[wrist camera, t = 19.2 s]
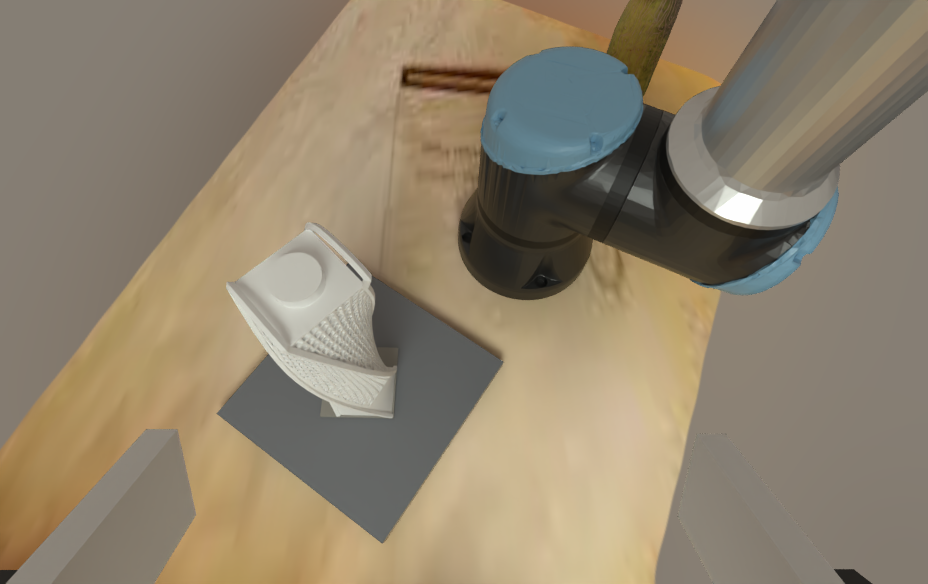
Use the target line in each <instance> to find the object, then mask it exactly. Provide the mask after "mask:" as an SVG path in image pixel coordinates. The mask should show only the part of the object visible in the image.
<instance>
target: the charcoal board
mask: <svg viewBox="0 0 928 584" xmlns="http://www.w3.org/2000/svg"><path fill="white" fill-rule="evenodd" d="M346 266H347V267H348V268H349V269H350V270H351V271H352V272H353V273H354V274H355V275H356V276H357V277H358V278H359V279H360V280H361V281H363V279H362V277H361V276H360V275H359V274H358V273H357V272H356V270H355V269H354V268H353V267H352V266H351V265H350V264H349V263H348V264H347V265H346ZM370 285H371V286H372V288H373V290H374V293H375V307H374V311H373V315H372V329H373V336H374V341H375V345H376V347H388V348H398V362H397V377H396V392H395V407H394V418H338V417H320V413H321V405H322V399H321V398H319V397H317V396H316V395H314V394H312V393H311V392H309V391H307V390H306V389H304V388H303V387H302V386H300V385H299V384H297V383H296V382H295V381H294V380H293V379H292V378H290V377H289V376H288V375H287V374H286V373H285V372H284V371H283V370H282V369H281V368H280V367H279V366H278V365H277V363H276V362H275V361H274V360H273V358H272V357H271V356H270V355H269V354H268V355H267V357H266V358H265V359H264V360H263V361H262V362H261V363H260V365H259V366H258V367H257V368H256V369H255V370H254V371H253V373H252V374H251V375H250V376H249V377H248V378H247V379H246V381H245V382H244V383H243V384H242V385H241V386H240V387H239V389H238V390H237V391H236V392H235V393H234V394H233V396H232V397H231V398H230V399H229V400H228V401H227V402H226V404H225V405H224V406H223V407H222V408H221V409H220V410H219V412H218V413H217V414H218V415H219V416H220V417H222V418H223V419H224V420H226V421H227V422H228V423H229V424H231V425H232V426H233V427H234V428H236V429H237V430H238V431H240V432H241V433H242V434H243V435H245V436H246V437H247V438H248V439H250V440H251V441H252V442H254V443H255V444H256V445H257V446H259V447H260V448H261V449H262V450H264V451H265V452H266V453H268V454H269V455H270V456H271V457H273V458H274V459H275V460H276V461H278V462H279V463H280V464H282V465H283V466H284V467H285V468H287V469H288V470H289V471H290V472H292V473H293V474H294V475H296V476H297V477H298V478H299V479H301V480H302V481H303V482H304V483H306V484H307V485H308V486H310V487H311V488H312V489H313V490H315V491H316V492H317V493H318V494H320V495H321V496H322V497H324V498H325V499H326V500H327V501H329V502H330V503H331V504H332V505H334V506H335V507H336V508H338V509H339V510H340V511H341V512H343V513H344V514H345V515H346V516H348V517H349V518H350V519H352V520H353V521H354V522H355V523H357V524H358V525H359V526H361V527H362V528H363V529H364V530H366V531H367V532H368V533H369V534H371V535H372V536H373V537H375V538H376V539H377V540H378V541H380V542H381V543H384V542H385V541H386V539H387V538H388V536H389V535H390V533H391V532H392V530H393V529H394V527H395V526H396V524H397V523H398V521H399V520H400V518H401V517H402V515H403V514H404V512H405V511H406V509H407V508H408V506H409V505H410V503H411V502H412V500H413V499H414V497H415V496H416V494H417V493H418V491H419V490H420V488H421V487H422V485H423V484H424V482H425V481H426V479H427V478H428V476H429V475H430V473H431V472H432V470H433V469H434V467H435V466H436V464H437V463H438V461H439V460H440V458H441V457H442V455H443V454H444V452H445V451H446V449H447V448H448V446H449V445H450V443H451V442H452V440H453V439H454V437H455V436H456V434H457V433H458V431H459V430H460V428H461V427H462V425H463V424H464V422H465V421H466V419H467V418H468V416H469V415H470V413H471V412H472V410H473V409H474V407H475V406H476V404H477V403H478V401H479V400H480V398H481V397H482V395H483V394H484V392H485V391H486V389H487V388H488V386H489V385H490V383H491V382H492V380H493V379H494V377H495V376H496V374H497V373H498V371H499V370H500V368H501V367H502V365H503V361H501V360H500V359H498V358H497V357H495V356H494V355H492V354H491V353H489V352H488V351H486V350H485V349H483V348H482V347H480V346H478V345H477V344H475V343H474V342H472V341H471V340H469V339H468V338H466V337H465V336H463V335H462V334H460V333H459V332H457V331H456V330H454V329H453V328H451V327H449V326H448V325H446V324H445V323H443V322H442V321H440V320H439V319H437V318H436V317H434V316H433V315H431V314H430V313H428V312H427V311H425V310H424V309H422V308H420V307H419V306H417V305H416V304H414V303H413V302H411V301H410V300H408V299H407V298H405V297H404V296H402V295H401V294H399V293H398V292H396V291H394V290H393V289H391V288H390V287H388V286H387V285H385V284H384V283H382V282H381V281H379V280H378V279H376V278H375V277H373V276H372V278H371V283H370Z"/></svg>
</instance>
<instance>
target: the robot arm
mask: <svg viewBox="0 0 928 584" xmlns="http://www.w3.org/2000/svg"><path fill="white" fill-rule="evenodd" d="M627 72H628V67H627V66H626V65H625V64H624V63H622V62H621V61H620V60H618V59H616V58H614V57H612V56H610V55H608V54H606V53H604V52H600V51H597V50H594V49H589V48H583V47H556V48H550V49H546V50H542V51H541V52H540V53H539V54H534V55H529V56H526V57H524V58H522V59H520V60H519V61H517V62H516V63H514V64H513V65H511V66H510V67H509V68H508V69H507V70H506V71H505V72H504V73H503V74H502V75H501V76H500V77H499V78H498V80H497V81H496V83H495V85H494V86H493V88H492V90H491V92H490V95H489V99H488V103H487V109H486V115H485V117H484V119H483V122H482V128H481V155H480V167H479V180H478V188H477V189H476V191H475V192H474V193H473V195H472V196H471V198H470V199H469V200H468V202H467V203H466V205H465V207H464V209H463V211H462V214H461V217H460V222H459V232H458V244H459V250H460V254H461V257H462V260H463V262H464V264H465V266H466V267H467V269H468V270H469V272H470V273H471V274H472V276H473V277H474V278H475V279H476V280H477V281H478V282H480V283H481V284H482V285H483V286H485V287H486V288H488V289H489V290H491V291H493V292H495V293H497V294H500V295H502V296H505V297H509V298H513V299H520V300H535V299H542V298H546V297H549V296H552V295H554V294H557V293H559V292H561V291H562V290H564V289H565V288H567V287H568V286H569V285H571V284H572V283H573V282H574V281H575V280H576V278H577V277H578V276H579V275H580V273H581V271H582V270H583V268H584V266H585V264H586V262H587V260H588V258H589V255H590V252H591V248H592V242H593V239H594V240H597V241H599V242H602V243H604V244H606V245H608V246H611V247H613V248H616V249H618V250H621V251H623V252H626V253H628V254H631V255H633V256H635V257H638V258H640V259H643V260H645V261H648V262H650V263H653V264H655V265H657V266H660V267H662V268H665V269H667V270H670V271H672V272H675V273H677V274H679V275H682V276H684V277H686V278H689V279H690V280H691V281H692V282H694V283H696V284H698V285H700V286H703V287H706V288H713V289H718V290H721V291H724V292H727V293H730V294H734V295H752V294H756V293H760V292H763V291H765V290H767V289H769V288H772V287H773V286H775V285H777V284H778V283H780V282H781V281H783V280H784V279H786V278H787V277H788V276H789V275H791V274H792V273H793V272H794V271H795V270H796V269H797V268H798V267H799V266H800V265H801V260H802V257H803V256H804V255H806V254H810V253H812V252H813V251H814V249H815V248H816V247H817V245H818V244H819V242H820V241H821V240H822V238H823V237H824V235H825V233H826V231H827V230H828V228H829V226H830V224H831V221H832V219H833V217H834V214H835V211H836V207H837V203H838V196H839V193H838V181H839V175H840V163H842V162H843V161H844V160H845V159H847V158H848V157H849V156H850V155H851V154H853V153H854V152H855V151H856V150H857V149H858V148H860V147H861V146H862V145H863V144H865V143H866V142H867V141H868V140H869V139H871V138H872V137H873V136H874V135H875V134H877V133H878V132H879V131H880V130H882V129H883V128H884V127H885V126H886V125H887V124H889V123H890V122H891V121H892V120H894V119H895V118H896V117H897V116H898V115H900V114H901V113H902V112H903V111H904V110H906V109H907V108H908V107H909V106H911V105H912V104H913V103H914V102H915V101H916V100H918V99H919V98H920V97H921V96H923V95H924V94H925V93H926V92H927V91H928V0H777V1H776V3H775V4H774V6H773V7H772V9H771V10H770V12H769V13H768V15H767V16H766V18H765V19H764V21H763V22H762V24H761V25H760V27H759V28H758V30H757V31H756V33H755V34H754V36H753V37H752V39H751V41H750V42H749V44H748V45H747V46H746V48H745V50H744V51H743V53H742V54H741V56H740V58H739V59H738V60H737V62H736V63H735V65H734V66H733V68H732V69H731V71H730V72H729V74H728V75H727V77H726V78H725V80H724V82H723V83H722V84H721V86H718V87H714V88H710V89H708V90H705V91H703V92H701V93H699V94H697V95H695V96H693V97H692V98H691V99H690V100H688V101H687V102H686V103H685V104H684V105H683V106H682V107H681V109H680V110H679V111H678V112H677V113H676V115H675V114H672V113H669V112H666V111H663V110H660V109H657V108H655V107H652V106H649V105H646V104H644V103H643V97H642V90H641V86H640V84H639V81H638V79H637V78H636V77H635V75H634V74H628V73H627ZM195 516H196V511H195V507H194V502H193V498H192V493H191V489H190V484H189V480H188V475H187V470H186V466H185V461H184V457H183V452H182V448H181V443H180V439H179V434H178V430H177V429H146V430H145V431H144V432H143V433H142V435H141V436H140V437H139V438H138V439H137V440H136V441H135V442H134V443H133V444H132V446H131V447H130V448H129V449H128V450H127V451H126V452H125V453H124V454H123V455H122V456H121V458H120V459H119V460H118V461H117V462H116V463H115V464H114V465H113V466H112V467H111V469H110V470H109V471H108V472H107V473H106V474H105V475H104V476H103V477H102V478H101V480H100V481H99V482H98V483H97V484H96V485H95V486H94V487H93V488H92V489H91V491H90V492H89V493H88V494H87V495H86V496H85V497H84V498H83V499H82V500H81V501H80V503H79V504H78V505H77V506H76V507H75V508H74V509H73V510H72V511H71V512H70V514H69V515H68V516H67V517H66V518H65V519H64V520H63V521H62V522H61V523H60V525H59V526H58V527H57V528H56V529H55V530H54V531H53V532H52V533H51V534H50V536H49V537H48V538H47V539H46V540H45V541H44V542H43V543H42V544H41V545H40V546H39V548H38V549H37V550H36V551H35V552H34V553H33V554H32V555H31V556H30V557H29V559H28V560H27V561H26V562H25V563H24V564H23V565H22V566H21V567H20V568H19V570H0V584H154V583H155V581H156V580H157V578H158V576H159V575H160V573H161V571H162V570H163V568H164V566H165V565H166V563H167V562H168V560H169V558H170V557H171V555H172V553H173V552H174V550H175V548H176V547H177V545H178V543H179V542H180V540H181V539H182V537H183V535H184V534H185V532H186V530H187V529H188V527H189V525H190V524H191V522H192V521H193V519H194V517H195ZM678 518H679V520H680V522H681V524H682V526H683V528H684V530H685V531H686V533H687V535H688V537H689V539H690V541H691V543H692V545H693V546H694V549H695V550H696V552H697V554H698V556H699V558H700V560H701V562H702V564H703V566H704V568H705V569H706V571H707V573H708V575H709V577H710V579H711V581H712V583H713V584H872V583H871V582H869V581H868V580H867V579H865V578H864V577H863V576H861V575H860V574H859V573H858V572H856V571H855V570H854V569H846V570H845V569H833V568H832V567H831V565H830V564H829V563H828V562H827V560H825V558H824V557H823V556H822V554H821V553H820V552H819V550H818V549H817V548H816V547H815V545H814V544H813V543H812V542H811V540H810V539H809V538H808V536H807V535H806V534H805V533H804V531H803V530H802V529H801V528H800V526H799V525H798V524H797V523H796V521H795V520H794V519H793V518H792V516H791V515H790V514H789V513H788V511H787V510H786V509H785V508H784V506H783V505H782V504H781V503H780V501H779V500H778V499H777V497H776V496H775V495H774V494H773V492H772V491H771V490H770V489H769V487H768V486H767V485H766V484H765V482H764V481H763V480H762V479H761V477H760V476H759V475H758V474H757V472H756V471H755V470H754V468H753V467H752V466H751V465H750V463H749V462H748V461H747V460H746V458H745V457H744V456H743V455H742V453H741V452H740V451H739V450H738V448H737V447H736V446H735V445H734V443H733V442H732V441H731V439H730V438H729V437H728V436H727V434H696V438H695V442H694V447H693V451H692V455H691V460H690V464H689V468H688V473H687V477H686V482H685V486H684V490H683V494H682V499H681V503H680V507H679V512H678Z"/></svg>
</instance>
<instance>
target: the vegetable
mask: <svg viewBox="0 0 928 584" xmlns="http://www.w3.org/2000/svg"><path fill="white" fill-rule="evenodd" d="M681 4H682V0H630V1H629V3H628V4H627V6H626V8H625V10H624V12H623V14H622V16H621V17H620V19H619V21H618V24H617V26H616V28H615V30H614V33H613V36H612V39H611V41H610V44H609V47H608V50H607V54H608V55H610V56H612V57H614V58H616V59H618V60H620V61H621V62H622V63H624V64H625V65H626V66H627V67H628V72H627V73H628V74H634V75H635V77H636V78H637V79H638V81H639V84H640V86H641V90H642V97H643V96H644V94H645V92H646V90H647V88H648V85H649V83H650V80H651V77H652V75H653V72H654V70H655V68H656V65H657V63H658V61H659V58H660V56H661V53H662V51H663V49H664V46H665V44H666V42H667V40H668V37H669V35H670V32H671V30H672V27H673V25H674V23H675V20H676V18H677V15H678V12H679V9H680V7H681Z"/></svg>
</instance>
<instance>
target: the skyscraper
mask: <svg viewBox="0 0 928 584" xmlns="http://www.w3.org/2000/svg"><path fill="white" fill-rule="evenodd" d="M312 230H313V231H314V232H316V233H317V234H318V235H320V236H321V237H322V238H323V239H324V240H325V241H326V242H328V243H329V244H330V245H331V246H332V247H333V248H334V249H335V250H336V251H337V252H338V253H339V254H340V255H341V256H342V257H343V258H344V259H345V260H346V261H347V262H348V263H349V264H350V265H351V266H352V267H353V268H354V269H355V270H356V272H357V273H358V274H359V275H360V276H361V277H362V279H363V281H361V280H360V279H359V278H358V277H357V276H356V275H355V274H354V273H353V272H352V271H351V270H350V269H349V268H348V267H347V266H346V265H345V264H344V263H343V262H342V261H341V260H340V259H339V258H338V257H337V256H336V255H335V254H334V253H333V252H332V251H331V250H330V249H329V248H328V247H327V245H326V244H325V243H324V242H323V241H322V240H321V239H320V238H319V237H318V236H317V235H316V234H315V233H314V232H313V231H312ZM371 278H372V275H371V273H370V272H369V271H368V270H367V268H366V267H365V266H364V265H363V264H362V263H361V262H360V261H359V260H358V259H357V258H356V257H355V256H354V255H353V254H352V253H351V252H350V251H349V250H348V249H347V248H346V247H345V246H344V245H343V244H342V243H341V242H340V241H339V240H338V239H337V238H336V237H335V236H334V235H332V234H331V233H330V232H329V231H328V230H326V229H325V228H324V227H322V226H321V225H319V224H317V223H310V222H308V223H306V225H305V230H304V231H303V232H302V233H301V234H299V235H298V236H297V237H295V238H294V239H293V240H291V241H290V242H288V243H287V244H286V245H284V246H283V247H282V248H280V249H279V250H278V251H276V252H275V253H274V254H272V255H271V256H269V257H268V258H267V259H265V260H264V261H263V262H261V263H260V264H259V265H257V266H256V267H255V268H253V269H252V270H250V271H249V272H248V273H246V274H245V275H244V276H242V277H241V278H240V279H238V280H237V281H236V282H227V286H226V289H227V290H228V292H229V294H230V295H231V297H232V299H233V300H234V302H235V304H236V305H237V307H238V309H239V310H240V312H241V313H242V315H243V317H244V318H245V320H246V321H247V323H248V325H249V326H250V328H251V329H252V331H253V332H254V334H255V335H256V337H257V338H258V340H259V341H260V343H261V344H262V345H263V347H264V348H265V350H266V351H267V352H268V353H269V355H270V356H271V357H272V358H273V360H274V361H275V362H276V363H277V365H278V366H279V367H280V368H281V369H282V370H283V371H284V372H285V373H286V374H287V375H288V376H289V377H290V378H292V379H293V380H294V381H295V382H296V383H297V384H299V385H300V386H302V387H303V388H304V389H306V390H307V391H309V392H311V393H312V394H314V395H316V396H317V397H319V398H321V399H322V405H321V413H320V417H338V418H394V407H395V392H396V377H397V362H398V348H388V347H376V345H375V341H374V336H373V329H372V315H373V311H374V307H375V293H374V290H373V288H372V286H371V285H370V283H371Z"/></svg>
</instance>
